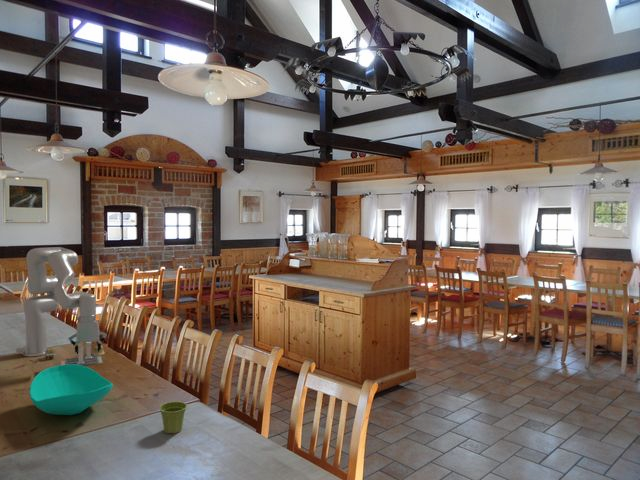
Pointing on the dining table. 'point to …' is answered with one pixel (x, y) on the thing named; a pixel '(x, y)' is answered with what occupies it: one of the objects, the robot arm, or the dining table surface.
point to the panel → (86, 361)
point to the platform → (50, 353)
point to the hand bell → (95, 351)
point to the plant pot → (173, 416)
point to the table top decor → (68, 389)
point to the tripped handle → (80, 355)
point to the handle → (88, 349)
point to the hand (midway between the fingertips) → (88, 352)
